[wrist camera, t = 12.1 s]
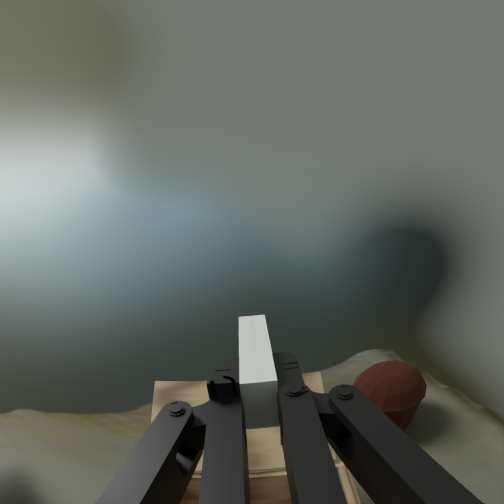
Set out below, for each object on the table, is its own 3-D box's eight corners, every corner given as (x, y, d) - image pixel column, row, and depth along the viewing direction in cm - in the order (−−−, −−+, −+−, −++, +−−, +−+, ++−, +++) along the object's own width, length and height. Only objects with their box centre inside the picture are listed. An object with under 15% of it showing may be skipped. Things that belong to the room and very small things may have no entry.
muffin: (398, 389, 45) (407, 342, 43) (429, 426, 34) (446, 376, 32) (338, 406, 44) (343, 358, 42) (362, 451, 33) (374, 402, 31)
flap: (147, 466, 23) (155, 381, 31) (149, 467, 23) (156, 382, 31) (335, 459, 23) (319, 371, 31) (335, 459, 23) (319, 373, 31)
